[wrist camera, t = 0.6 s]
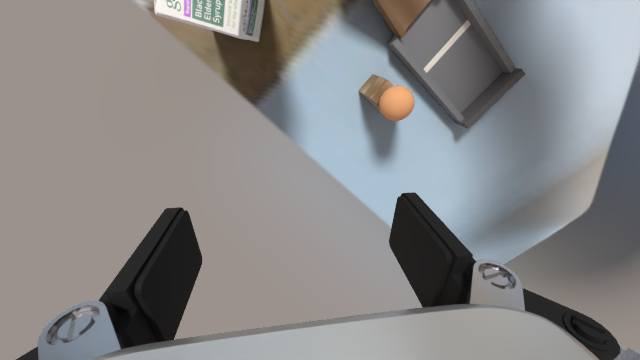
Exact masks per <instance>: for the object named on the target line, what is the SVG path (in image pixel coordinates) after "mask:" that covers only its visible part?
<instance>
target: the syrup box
mask: <svg viewBox="0 0 640 360" xmlns="http://www.w3.org/2000/svg"><path fill="white" fill-rule="evenodd" d="M154 1H155V14H156V15H158V16H161V17H164V18H168V19H172V20H175V21H179V22H183V23H187V24H190V25H194V26H198V27H201V28H205V29H209V30H212V31H216V32H219V33H223V34H226V35H229V36H233V37H236V38H239V39H245V40H251V41H254V42H259V39H260V34H261V28H262V21H263V14H264V7H265V0H154Z"/></svg>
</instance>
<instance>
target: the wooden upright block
mask: <svg viewBox="0 0 640 360" xmlns="http://www.w3.org/2000/svg"><path fill="white" fill-rule="evenodd" d="M390 87H393V85H392V84H391V83H390V81H389V80H386V79H385V78H383V77H380V76H376V75H373V74H372V75H371V77H370V78H369V79H368V80H367V81H366V83H365V84H364V85H363V86H362V87H361V89H360V90H359V92H360V93H361V94H362V95H363V96H364V97H365V98H366V99H368V100H369V101H370V102H371V103H372V104H373V105H374V106H375V107H376V108H377V109H378V110H379V111H380V108H379V102H380V98H381V96H382V94H383V93H384V92H385V91H386V90H387V89H389V88H390ZM380 112H381V111H380Z"/></svg>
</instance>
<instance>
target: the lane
mask: <svg viewBox="0 0 640 360" xmlns="http://www.w3.org/2000/svg"><path fill="white" fill-rule="evenodd" d="M405 31H406V32H407V33H406V34H405V35H404V36H403V38H399V37H396V36H395V35H394V36H393V38H392V39H391V40H390V41H389V43H388V44H387V45H388V46H389V47H390V48H391V50H392V51H393V52H394V53H395V54H396V55H397V56H398V58H399V59H400V60H401V61H402V62H403V63H404V64H405V66H406V67H407V68H408V69H409V70H410V71H411V72H412V74H413V75H414V76H415V77H416V78H417V79H418V80H419V82H420V83H421V84H422V85H423V86H424V87H425V88H426V89H427V91H428V92H429V93H430V94H431V95H432V96H433V97H434V99H435V100H436V101H437V102H438V103H439V104H440V105H441V107H442V108H443V109H444V110H445V111H446V112H447V113H448V115H449V116H450V117H451V118H452V119H453V120H454V121H455V123H457V124H460V125H462V126H464V127H466V128H469V127H470V126H471V125H472V124H473V123H474V122H476V121H477V120H478V119H479V118H480V117H481V116H482V115H483V114H484V113H485V112H486V111H487V110H488V109H489V108H490V107H491V106H492V105H493V104H494V103H495V102H497V101H498V100H499V99H500V98H501V97H502V96H503V95H504V94H505V93H506V92H507V91H508V90H509V89H510V88H511V87H512V86H513V85H514V84H515V83H517V82H518V81H519V80H520V79H521V78H522V77H523V76H524V75H525V73H524V71H523V70H522V69H516V68H515V66H514V65H513V63H512V62H511V60H510V58H509V57H508V55H507V53H506V52H505V50H504V49H503V47H502V45H501V44H500V42H499V41H498V39H497V37H496V36H495V34H494V33H493V31H492V29H491V28H490V26H489V25H488V23H487V21H486V20H485V18H484V17H483V15H482V13H481V12H480V10H479V9H478V7H477V5H476V4H475V2H474V1H473V0H430V1H429V2H428V4H427V5H426V6H425V7H424V8H423V10H422V11H421V12H420V13H419V15H418V16H417V17H416V18H415V19H414V21H413V22H412V23H411V24H410V25H409V27H408V28H407V29H406V30H405Z"/></svg>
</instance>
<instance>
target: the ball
mask: <svg viewBox="0 0 640 360" xmlns="http://www.w3.org/2000/svg"><path fill="white" fill-rule="evenodd" d="M413 107H414V96H413V94H412V92H411V91H410V90H409V89H408V88H406V87H404V86H393V87H390V88H389V89H387V90H386V91H385V92H384V93H383V94H382V96H381V98H380V102H379V108H380V111H381V113H382V115H383V116H384V117H385V118H387V119H389V120H392V121H399V120H402V119H404V118H406V117H407V116H408V115H409V114H410V113H411V112H412V110H413Z"/></svg>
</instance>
